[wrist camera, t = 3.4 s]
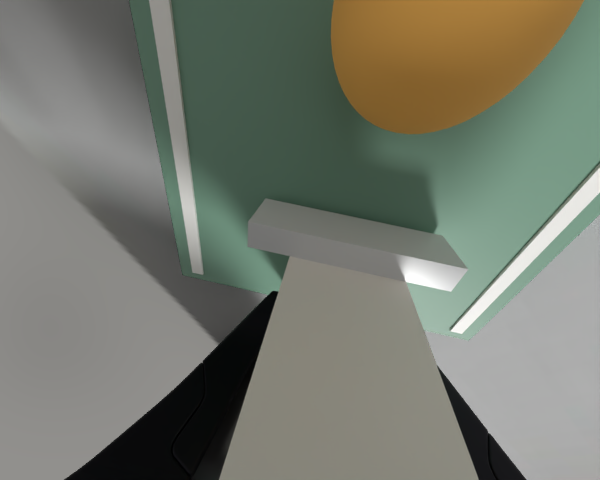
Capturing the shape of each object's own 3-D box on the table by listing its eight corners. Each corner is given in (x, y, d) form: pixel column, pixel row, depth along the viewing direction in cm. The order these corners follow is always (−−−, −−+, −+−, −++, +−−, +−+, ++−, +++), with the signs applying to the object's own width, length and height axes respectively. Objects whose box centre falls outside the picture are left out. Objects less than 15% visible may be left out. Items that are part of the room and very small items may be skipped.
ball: (443, 136, 7) (541, 170, 4) (320, 112, 7) (302, 124, 4) (540, -65, 5) (1034, -468, 1) (357, -93, 5) (396, -519, 2)
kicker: (391, 316, 11) (470, 639, 4) (259, 286, 11) (146, 548, 5) (442, 235, 8) (845, 762, 2) (265, 198, 9) (19, 528, 2)
